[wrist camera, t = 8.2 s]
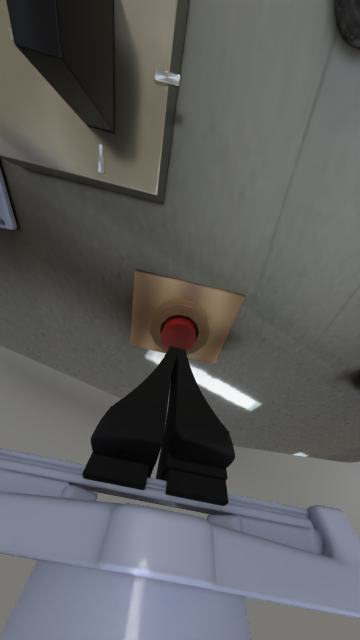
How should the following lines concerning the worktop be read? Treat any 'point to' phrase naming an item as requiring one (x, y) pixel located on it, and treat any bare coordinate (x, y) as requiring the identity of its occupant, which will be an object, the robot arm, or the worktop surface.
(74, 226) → the worktop surface
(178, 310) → the button block
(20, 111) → the panel
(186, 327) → the button
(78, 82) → the knob
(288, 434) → the worktop surface
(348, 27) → the salt shaker
